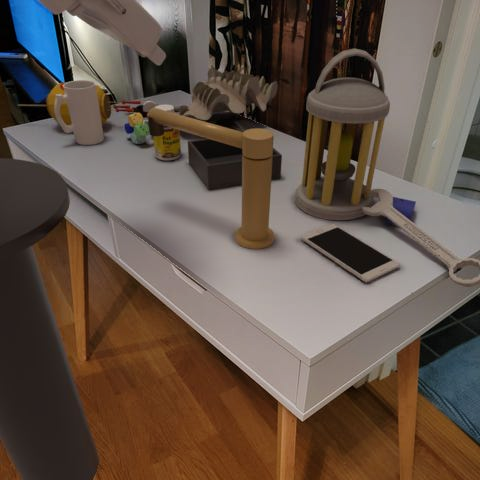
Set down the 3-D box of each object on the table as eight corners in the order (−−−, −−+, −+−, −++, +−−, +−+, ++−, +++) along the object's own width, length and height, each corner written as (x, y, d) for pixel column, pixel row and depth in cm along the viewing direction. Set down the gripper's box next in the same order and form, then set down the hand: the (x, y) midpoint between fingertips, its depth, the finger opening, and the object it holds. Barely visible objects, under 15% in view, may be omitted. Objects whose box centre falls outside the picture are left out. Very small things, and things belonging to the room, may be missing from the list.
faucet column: (243, 252, 77) (245, 166, 67) (229, 232, 81) (229, 150, 72) (280, 244, 78) (286, 160, 69) (264, 225, 83) (268, 144, 74)
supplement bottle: (163, 163, 102) (158, 113, 95) (151, 155, 106) (145, 105, 99) (186, 157, 105) (182, 108, 98) (173, 149, 108) (169, 101, 101)
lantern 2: (148, 117, 121) (32, 115, 123) (142, 76, 114) (18, 75, 116) (139, 136, 114) (16, 134, 116) (132, 94, 107) (1, 92, 109)
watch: (134, 100, 122) (134, 111, 125) (137, 113, 120) (137, 125, 123) (164, 99, 124) (163, 110, 127) (168, 113, 122) (167, 124, 125)
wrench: (353, 205, 85) (353, 197, 83) (378, 188, 85) (378, 180, 84) (465, 297, 71) (466, 290, 69) (494, 276, 71) (496, 268, 69)
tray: (208, 190, 93) (207, 166, 90) (188, 163, 102) (187, 141, 99) (280, 178, 97) (282, 155, 94) (255, 154, 107) (256, 132, 103)
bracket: (408, 227, 82) (412, 214, 81) (380, 221, 83) (384, 208, 82) (414, 205, 89) (418, 192, 87) (388, 200, 90) (392, 187, 89)
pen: (186, 111, 128) (186, 107, 127) (123, 114, 125) (122, 109, 124) (186, 109, 129) (186, 104, 128) (122, 111, 126) (122, 106, 125)
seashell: (238, 102, 134) (248, 44, 123) (283, 134, 126) (299, 74, 115) (152, 119, 118) (155, 54, 107) (197, 156, 110) (205, 90, 100)
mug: (96, 132, 115) (86, 78, 108) (110, 141, 112) (101, 85, 104) (56, 142, 110) (42, 86, 103) (69, 151, 107) (56, 93, 99)
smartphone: (333, 222, 82) (401, 264, 73) (332, 226, 83) (401, 267, 73) (299, 235, 79) (366, 280, 70) (298, 239, 79) (366, 284, 70)
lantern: (300, 220, 84) (316, 61, 68) (290, 184, 95) (302, 39, 78) (381, 219, 84) (416, 61, 68) (362, 183, 95) (389, 39, 79)
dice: (125, 137, 113) (121, 108, 109) (135, 135, 114) (131, 106, 110) (141, 148, 108) (137, 118, 104) (151, 145, 109) (148, 116, 105)
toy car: (230, 124, 120) (230, 108, 118) (260, 138, 113) (261, 122, 110) (211, 129, 117) (210, 112, 115) (241, 144, 110) (241, 127, 108)
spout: (277, 164, 72) (279, 132, 69) (260, 173, 69) (262, 141, 66) (161, 128, 83) (158, 100, 80) (142, 136, 80) (138, 106, 77)
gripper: (109, -52, 47) (204, 51, 57) (54, -63, 60) (138, 22, 70) (73, 6, 48) (172, 97, 58) (27, -17, 61) (114, 60, 71)
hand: (153, 56), depth 64 cm, fingers open, 3 cm apart
